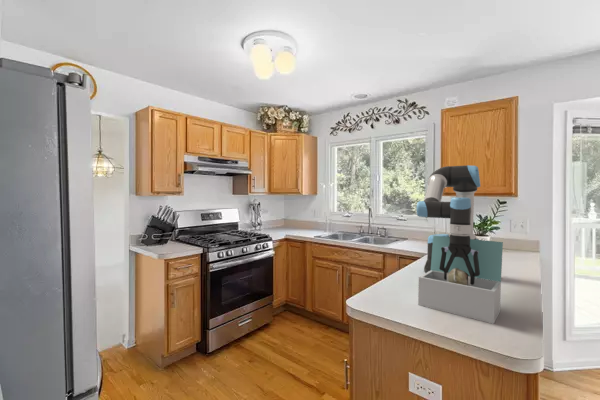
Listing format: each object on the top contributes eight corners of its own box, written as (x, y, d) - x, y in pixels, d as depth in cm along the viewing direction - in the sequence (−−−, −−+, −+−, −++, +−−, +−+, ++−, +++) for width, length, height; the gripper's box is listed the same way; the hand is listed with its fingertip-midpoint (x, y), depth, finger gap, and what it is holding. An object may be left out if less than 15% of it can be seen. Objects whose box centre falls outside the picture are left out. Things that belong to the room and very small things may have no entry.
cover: (430, 269, 135) (431, 269, 137) (500, 281, 118) (501, 281, 119) (433, 235, 137) (434, 235, 139) (502, 242, 119) (503, 242, 121)
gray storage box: (430, 295, 136) (431, 270, 136) (500, 310, 118) (500, 282, 118) (418, 304, 124) (418, 277, 124) (493, 323, 106) (494, 291, 106)
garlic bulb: (454, 298, 117) (449, 276, 116) (445, 288, 126) (440, 267, 124) (478, 292, 117) (473, 270, 115) (467, 283, 125) (462, 261, 123)
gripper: (431, 233, 124) (430, 286, 125) (486, 238, 111) (485, 297, 111) (436, 231, 130) (435, 282, 130) (490, 236, 117) (488, 293, 117)
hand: (458, 289), depth 121 cm, fingers closed on garlic bulb, 7 cm apart
